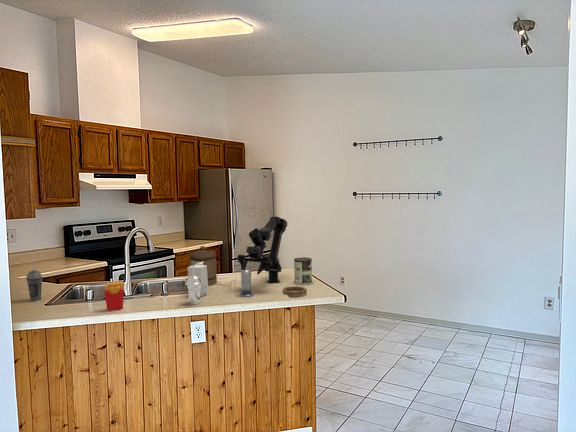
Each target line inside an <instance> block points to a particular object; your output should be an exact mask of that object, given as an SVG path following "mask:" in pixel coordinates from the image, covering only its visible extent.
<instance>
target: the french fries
mask: <svg viewBox="0 0 576 432" xmlns="http://www.w3.org/2000/svg"><path fill="white" fill-rule="evenodd" d="M125 285H126V284H125V282H124V281H120V280H119V281H114V282H107V283H104V284H103V286H104V298H105V305H106V309H107V310H108V311H107V312H113V311H112V310H116V311H121V310H120V309H122V310H124V295H125V294H124V293H125Z"/></svg>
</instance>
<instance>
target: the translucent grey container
mask: <svg viewBox="0 0 576 432" xmlns="http://www.w3.org/2000/svg"><path fill="white" fill-rule="evenodd" d="M206 248H207V247H206V246H203V245H201V246H200V247H199V250H198V251H194V252H190V254H189V257H190V258H189V259H190V266H193V265H195V264H198V263H201V262H204V263H203V264H199V265H207V278H208V287H209V286H213V285H216V284H217V283H218V278H217V277H218V274H217V260H216V254H217V253H216V251H214V250H213V251H212V250H206Z"/></svg>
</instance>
